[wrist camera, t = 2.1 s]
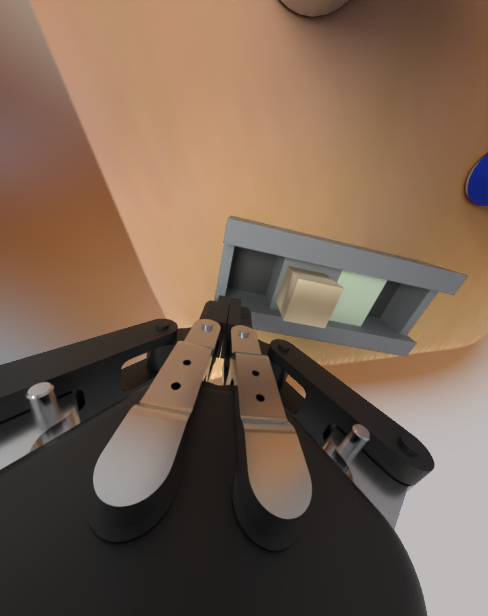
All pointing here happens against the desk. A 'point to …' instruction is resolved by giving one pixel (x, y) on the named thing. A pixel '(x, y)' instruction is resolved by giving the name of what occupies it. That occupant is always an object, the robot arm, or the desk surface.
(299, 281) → the birch block
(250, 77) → the desk surface
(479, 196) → the blue cylinder
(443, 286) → the box
